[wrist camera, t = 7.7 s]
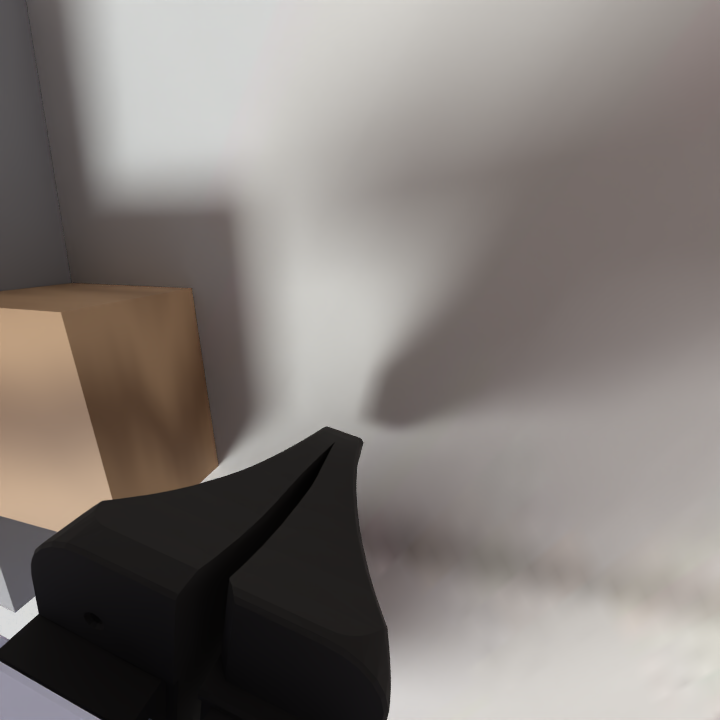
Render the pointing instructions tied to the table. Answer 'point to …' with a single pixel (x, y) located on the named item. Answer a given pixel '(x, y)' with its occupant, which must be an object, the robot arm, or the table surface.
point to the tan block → (99, 398)
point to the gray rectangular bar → (24, 238)
